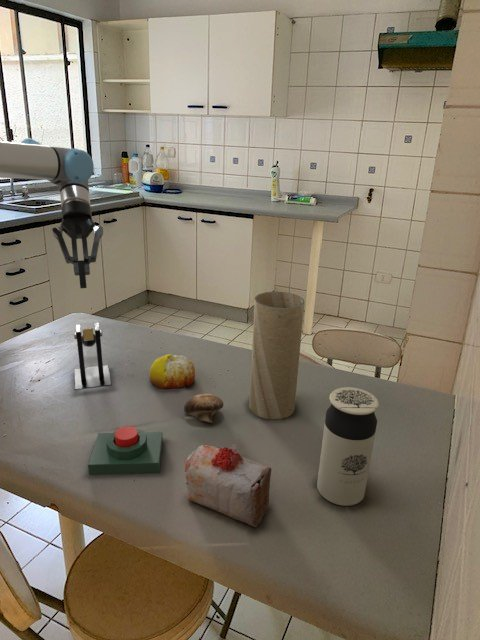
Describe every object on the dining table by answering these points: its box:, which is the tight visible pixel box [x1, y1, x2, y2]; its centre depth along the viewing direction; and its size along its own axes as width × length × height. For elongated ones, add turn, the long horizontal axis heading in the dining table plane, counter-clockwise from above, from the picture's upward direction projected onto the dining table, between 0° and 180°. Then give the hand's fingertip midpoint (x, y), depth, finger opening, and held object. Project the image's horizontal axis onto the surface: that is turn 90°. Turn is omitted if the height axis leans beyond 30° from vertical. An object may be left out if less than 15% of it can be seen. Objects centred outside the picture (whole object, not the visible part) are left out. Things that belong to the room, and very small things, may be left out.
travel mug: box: [316, 386, 380, 507], centre depth 75 cm, size 8×8×18 cm
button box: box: [87, 427, 164, 476], centre depth 84 cm, size 12×9×4 cm
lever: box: [82, 327, 96, 348], centre depth 110 cm, size 13×4×4 cm, turn 19°
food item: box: [184, 444, 272, 529], centre depth 74 cm, size 14×8×10 cm, turn 63°
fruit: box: [149, 353, 196, 390], centre depth 109 cm, size 11×10×8 cm
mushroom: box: [183, 393, 224, 424], centre depth 96 cm, size 8×8×6 cm
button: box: [115, 425, 138, 447], centre depth 83 cm, size 4×4×2 cm
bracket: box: [73, 322, 112, 391], centre depth 107 cm, size 10×8×14 cm
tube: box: [248, 291, 305, 420], centre depth 97 cm, size 10×10×25 cm
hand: (83, 285), depth 116 cm, fingers closed
